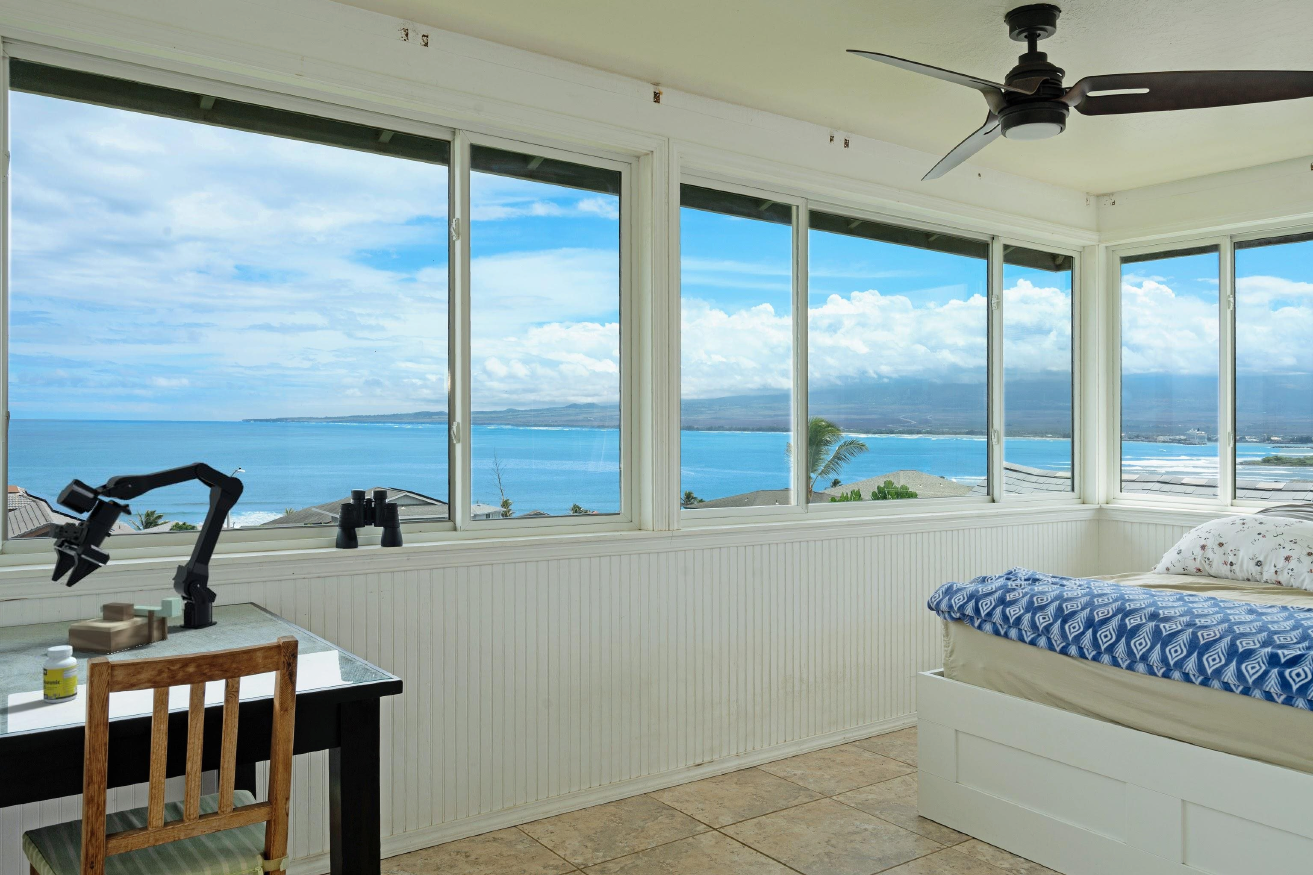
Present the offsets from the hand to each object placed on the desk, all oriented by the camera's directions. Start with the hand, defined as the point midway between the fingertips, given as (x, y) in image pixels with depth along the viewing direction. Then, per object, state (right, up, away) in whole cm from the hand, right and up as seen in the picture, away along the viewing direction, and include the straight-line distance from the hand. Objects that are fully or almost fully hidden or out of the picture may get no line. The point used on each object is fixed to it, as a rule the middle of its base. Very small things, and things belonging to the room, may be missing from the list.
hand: (60, 583), depth 219 cm
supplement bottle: (+26, -16, -41) cm, 51 cm away
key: (+15, -8, +7) cm, 18 cm away
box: (+12, -15, +3) cm, 19 cm away
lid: (+12, -10, +3) cm, 16 cm away
